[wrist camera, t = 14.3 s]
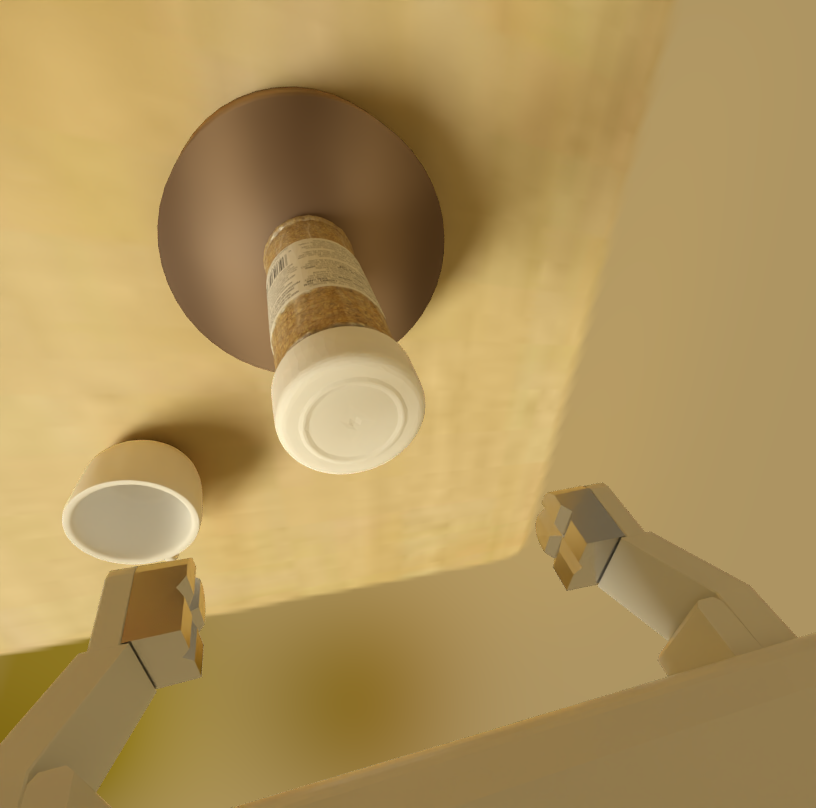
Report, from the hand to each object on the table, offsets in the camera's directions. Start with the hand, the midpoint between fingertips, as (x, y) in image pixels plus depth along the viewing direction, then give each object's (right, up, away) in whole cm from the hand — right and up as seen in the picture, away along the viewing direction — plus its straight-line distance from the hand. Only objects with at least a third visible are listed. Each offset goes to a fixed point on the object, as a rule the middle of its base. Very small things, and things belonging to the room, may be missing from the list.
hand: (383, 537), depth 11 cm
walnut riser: (-5, +13, +17) cm, 22 cm away
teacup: (-18, -2, +24) cm, 30 cm away
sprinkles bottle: (-4, +11, +14) cm, 18 cm away
